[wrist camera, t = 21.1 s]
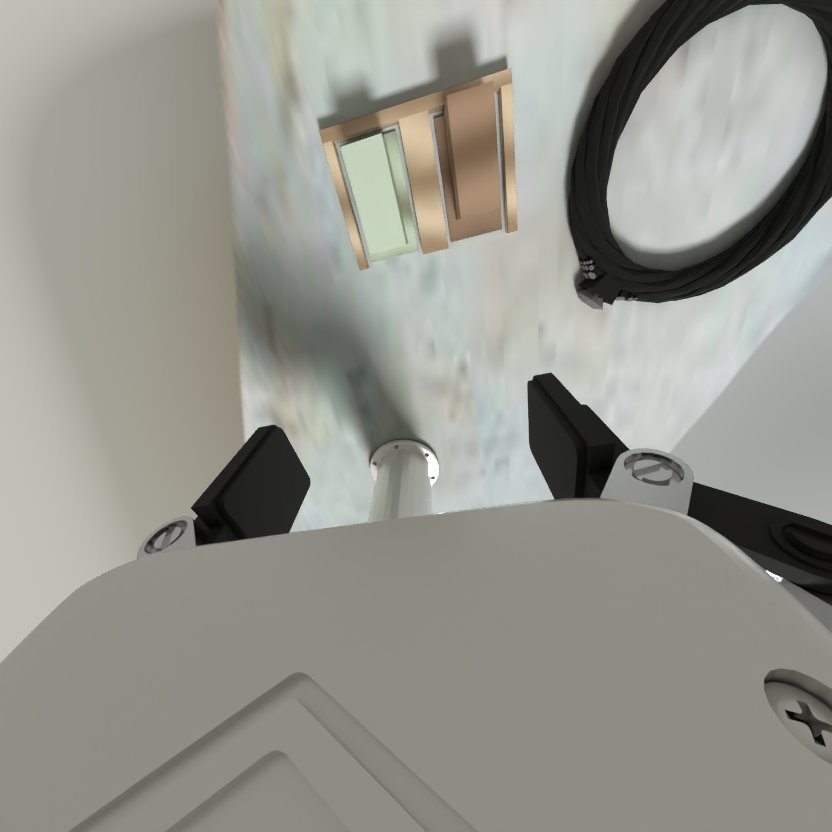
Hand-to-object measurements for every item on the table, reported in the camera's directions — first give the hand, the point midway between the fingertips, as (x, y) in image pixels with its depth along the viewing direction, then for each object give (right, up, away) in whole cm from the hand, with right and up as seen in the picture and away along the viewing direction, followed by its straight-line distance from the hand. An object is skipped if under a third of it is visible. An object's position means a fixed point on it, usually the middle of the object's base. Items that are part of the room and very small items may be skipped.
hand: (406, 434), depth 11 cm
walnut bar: (+6, +28, +21) cm, 35 cm away
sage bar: (-4, +25, +22) cm, 34 cm away
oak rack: (+1, +26, +22) cm, 34 cm away
